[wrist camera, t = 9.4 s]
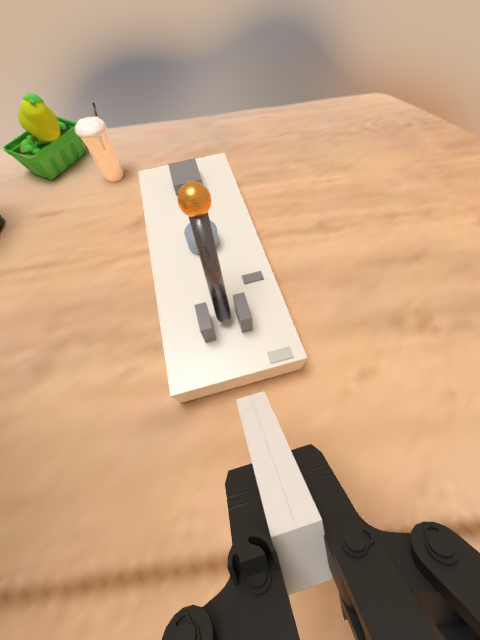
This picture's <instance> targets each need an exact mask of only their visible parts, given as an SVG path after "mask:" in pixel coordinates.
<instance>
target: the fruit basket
mask: <svg viewBox="0 0 480 640" xmlns="http://www.w3.org/2000/svg"><path fill="white" fill-rule="evenodd" d="M19 121H20V123H21V125H22V127H23V128H24V129H25V130H26V132H24V133H23V134H21V135H20V136H19V137H17V138H15V139H14V140H13V141H11V142H10V143H8V144H7V145H5V146H4V147H3V149H4V150H5V151H6V152H7V153H8V154H10V155H12V156H13V157H14V158H15V159H17V160H18V161H19V162H20V163H21V164H23V165H24V166H25V167H26V168H27V169H28V170H30V171H31V172H32V173H33V174H37V175H39V176H41V177H44V178H48V179H50V180H53V179H54V178H56V177H57V176H58V175H59V174H60V173H62V172H63V171H64V170H66V169H67V168H68V166H70V165H72V164H73V163H74V162H76V161H77V159H79V158H80V157H82V156H83V155H84V154H85V152H84V148H83V144H82V141H81V140H80V138H79V137H78V135H77V134H76V132H75V125H76V124H77V123H75V122H72V121H69V120H66V119H63V118H59V117H56V116H55V114H54V113H53V112H52V110H50V109H49V108H48V107H47V106H46V105H45V104H44V103H43V100H42V99H41V98H40V97H38V96H37V95H35V94H26V95H25V96H24V97H23V101H22V103H21V107H20V111H19Z"/></svg>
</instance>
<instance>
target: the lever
mask: <svg viewBox="0 0 480 640" xmlns="http://www.w3.org/2000/svg"><path fill="white" fill-rule="evenodd" d="M177 200H178V205H179V207H180V209H181V211H182V212H183V213H184V214H185V215H187V216H188V217H189V220H190V224H191V228H192V231H193V235H194V238H195V242H196V246H197V249H198V253H199V257H200V260H201V264H202V267H203V271H204V275H205V278H206V282H207V286H208V289H209V293H210V296H211V300H212V304H213V307H214V311H215V315H216V318H217V320H218V321H220V322H223V323H224V322H227V321H229V320H230V318H231V311H230V307H229V302H228V298H227V294H226V289H225V285H224V280H223V276H222V272H221V267H220V263H219V259H218V254H217V250H216V245H215V241H214V237H213V232H212V228H211V223H210V219H209V215H208V211H209V209H210V207H211V195H210V192H209V190H208V189H207V188H206V187H205V186H204V185H203V184H201V183H199V182H196V181H191V182H187V183H185V184H184V185H183V186H182V187H181V188H180V190H179V192H178V198H177Z"/></svg>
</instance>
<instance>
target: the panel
mask: <svg viewBox="0 0 480 640" xmlns="http://www.w3.org/2000/svg"><path fill="white" fill-rule="evenodd" d="M195 160H196V163H197V166H198V170H199V173H200V176H201V179H202V184H203V185H204V186H205V187H206V188H207V189H208V190H209V192H210V195H211V207H210V209H209V211H208V215H209V219H210V220H211V221H212V222H214V223H215V225H216V227H217V231H218V237H219V245H218V247H217V248H216V250H217V254H218V259H219V263H220V267H221V272H222V276H223V280H224V285H225V289H226V294H227V298H228V302H229V307H230V311H231V318H230V320H229V321H227V322H224V323H223V322H220V321H218V320H217V318H216V315H215V311H214V307H213V304H212V300H211V296H210V293H209V289H208V286H207V282H206V278H205V275H204V271H203V267H202V264H201V260H200V257H199V254H196V253H193V252H192V251H191V250H190V249H189V247H188V244H187V241H186V237H185V234H184V231H185V228H186V226H187V225H188V224H189V223H190V220H189V217H188V216H187V215H185V214H184V213H183V212H182V211H181V209H180V207H179V205H178V200H177V198H178V196H176V193H175V190H174V187H173V183H172V178H171V174H170V170H169V165H165V166H161V167H156V168H152V169H147V170H143V171H138V174H139V181H140V188H141V195H142V202H143V209H144V216H145V223H146V230H147V237H148V243H149V250H150V257H151V264H152V271H153V278H154V285H155V292H156V299H157V306H158V313H159V320H160V327H161V334H162V340H163V347H164V354H165V361H166V368H167V375H168V382H169V389H170V396H171V397H173V398H174V399H176V400H177V401H179V402H180V403H183V402H187V401H190V400H194V399H197V398H201V397H204V396H208V395H211V394H215V393H219V392H222V391H226V390H229V389H233V388H236V387H240V386H243V385H247V384H250V383H254V382H257V381H261V380H264V379H268V378H271V377H275V376H279V375H282V374H286V373H289V372H293V371H296V370H300V369H301V368H302V367H303V365H304V363H305V361H306V359H307V356H306V354H305V351H304V349H303V346H302V344H301V341H300V339H299V336H298V334H297V331H296V329H295V326H294V324H293V322H292V319H291V317H290V314H289V312H288V309H287V307H286V304H285V302H284V299H283V297H282V294H281V292H280V289H279V287H278V285H277V282H276V280H275V277H274V275H273V272H272V270H271V267H270V265H269V262H268V260H267V257H266V255H265V252H264V250H263V248H262V245H261V243H260V240H259V238H258V235H257V233H256V230H255V228H254V225H253V223H252V220H251V218H250V215H249V213H248V211H247V208H246V206H245V203H244V201H243V198H242V196H241V193H240V191H239V188H238V186H237V183H236V181H235V178H234V176H233V174H232V171H231V169H230V166H229V164H228V161H227V159H226V156H225V154H224V153H221V154H216V155H211V156H207V157H202V158H198V159H195Z"/></svg>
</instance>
